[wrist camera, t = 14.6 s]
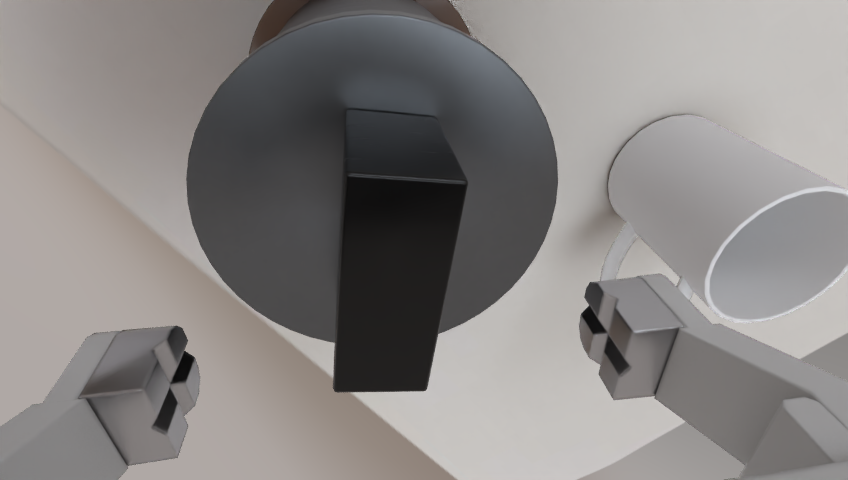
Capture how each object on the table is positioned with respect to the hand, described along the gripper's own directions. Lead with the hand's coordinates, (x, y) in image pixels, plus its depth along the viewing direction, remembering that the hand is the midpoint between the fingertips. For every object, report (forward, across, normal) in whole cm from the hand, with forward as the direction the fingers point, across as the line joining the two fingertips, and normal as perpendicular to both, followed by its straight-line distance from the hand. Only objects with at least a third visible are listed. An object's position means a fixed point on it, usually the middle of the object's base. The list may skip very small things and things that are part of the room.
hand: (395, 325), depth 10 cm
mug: (+19, -17, +8) cm, 27 cm away
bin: (+18, 0, 0) cm, 18 cm away
